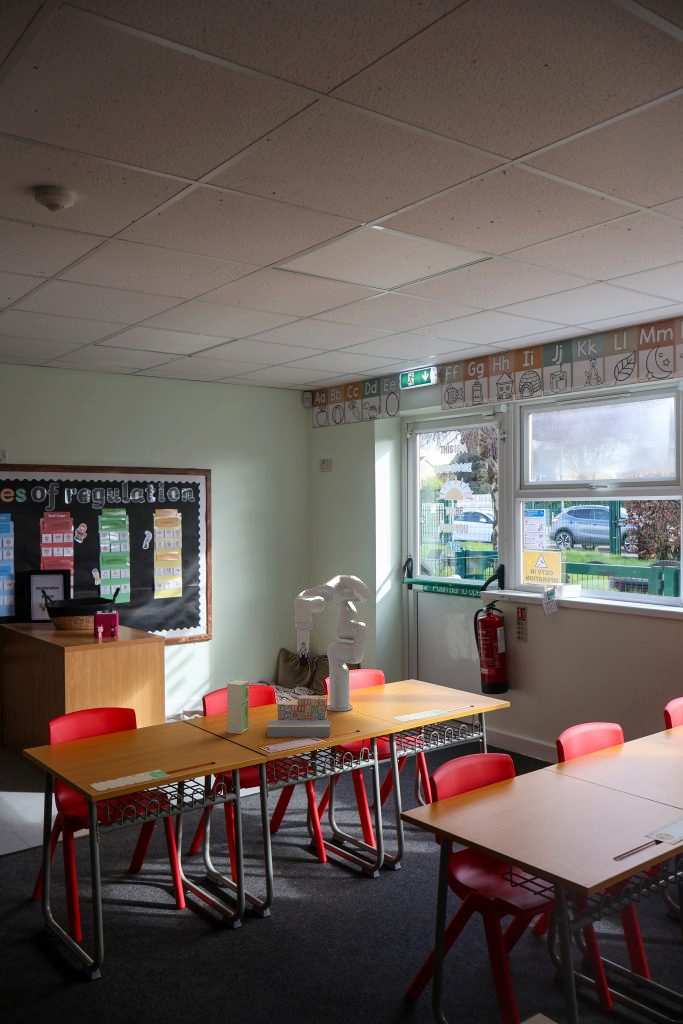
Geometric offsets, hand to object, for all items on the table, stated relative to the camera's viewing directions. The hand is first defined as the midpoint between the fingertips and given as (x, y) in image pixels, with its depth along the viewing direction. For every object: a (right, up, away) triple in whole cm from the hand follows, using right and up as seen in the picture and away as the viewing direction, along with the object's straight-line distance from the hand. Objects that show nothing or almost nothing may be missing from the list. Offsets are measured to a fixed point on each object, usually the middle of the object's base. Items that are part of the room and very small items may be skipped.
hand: (303, 664), depth 378 cm
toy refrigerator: (-27, -27, -13) cm, 40 cm away
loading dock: (-1, -26, -16) cm, 31 cm away
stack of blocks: (-1, -27, 0) cm, 27 cm away
